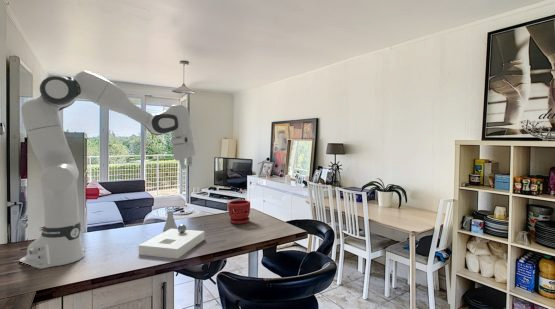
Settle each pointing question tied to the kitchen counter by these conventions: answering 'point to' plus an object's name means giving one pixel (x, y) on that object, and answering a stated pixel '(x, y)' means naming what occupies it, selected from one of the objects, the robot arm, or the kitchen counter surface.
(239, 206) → the plant pot
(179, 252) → the hole board
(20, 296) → the kitchen counter surface
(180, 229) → the steel ball
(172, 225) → the flask
